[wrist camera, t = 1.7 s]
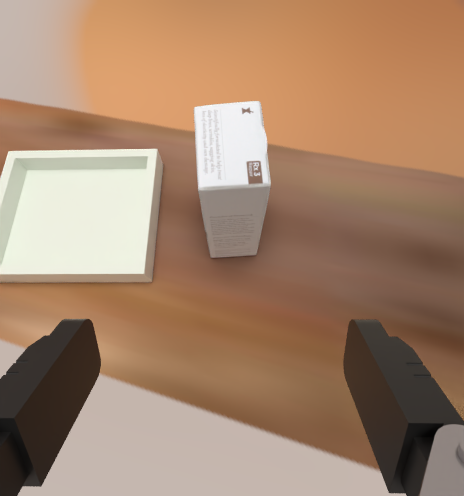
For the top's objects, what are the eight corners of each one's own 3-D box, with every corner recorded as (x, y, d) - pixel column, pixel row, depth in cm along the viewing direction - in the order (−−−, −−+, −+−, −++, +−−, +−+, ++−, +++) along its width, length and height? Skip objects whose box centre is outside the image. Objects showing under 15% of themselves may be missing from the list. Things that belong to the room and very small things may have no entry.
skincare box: (207, 201, 31) (187, 101, 20) (254, 197, 31) (261, 95, 20) (210, 262, 29) (189, 189, 18) (261, 258, 29) (273, 182, 18)
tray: (163, 165, 33) (157, 148, 30) (152, 282, 28) (144, 273, 26) (25, 167, 33) (8, 151, 31) (-8, 282, 29) (-29, 274, 27)
